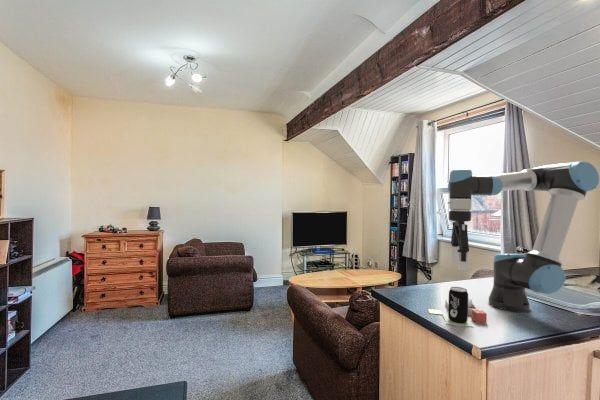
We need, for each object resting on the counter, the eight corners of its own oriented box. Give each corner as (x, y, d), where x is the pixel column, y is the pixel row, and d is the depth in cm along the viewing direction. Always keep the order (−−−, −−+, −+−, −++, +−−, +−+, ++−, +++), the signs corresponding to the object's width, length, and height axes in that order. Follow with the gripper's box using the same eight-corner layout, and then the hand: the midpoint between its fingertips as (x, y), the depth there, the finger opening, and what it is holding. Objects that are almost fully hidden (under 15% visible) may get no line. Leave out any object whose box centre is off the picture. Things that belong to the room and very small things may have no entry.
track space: (440, 311, 132) (440, 310, 132) (442, 315, 127) (442, 314, 127) (427, 309, 134) (427, 308, 134) (429, 313, 129) (429, 312, 129)
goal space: (467, 318, 124) (467, 317, 124) (473, 327, 116) (473, 326, 116) (442, 315, 127) (442, 314, 127) (446, 324, 118) (446, 323, 118)
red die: (481, 319, 124) (481, 309, 124) (486, 323, 120) (486, 313, 120) (471, 319, 124) (472, 309, 124) (476, 322, 120) (476, 312, 120)
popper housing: (473, 307, 137) (473, 301, 137) (479, 316, 127) (479, 310, 127) (445, 304, 141) (445, 298, 141) (449, 313, 130) (449, 306, 130)
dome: (469, 304, 136) (470, 291, 136) (474, 309, 129) (474, 296, 129) (450, 302, 138) (450, 290, 138) (453, 307, 131) (453, 295, 131)
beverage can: (469, 324, 117) (470, 292, 117) (450, 322, 119) (451, 290, 119) (464, 318, 124) (465, 287, 123) (446, 316, 125) (447, 285, 125)
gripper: (444, 209, 134) (443, 259, 135) (455, 211, 110) (454, 272, 111) (463, 209, 132) (462, 261, 133) (479, 212, 108) (478, 274, 109)
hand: (458, 266), depth 122 cm, fingers open, 13 cm apart
